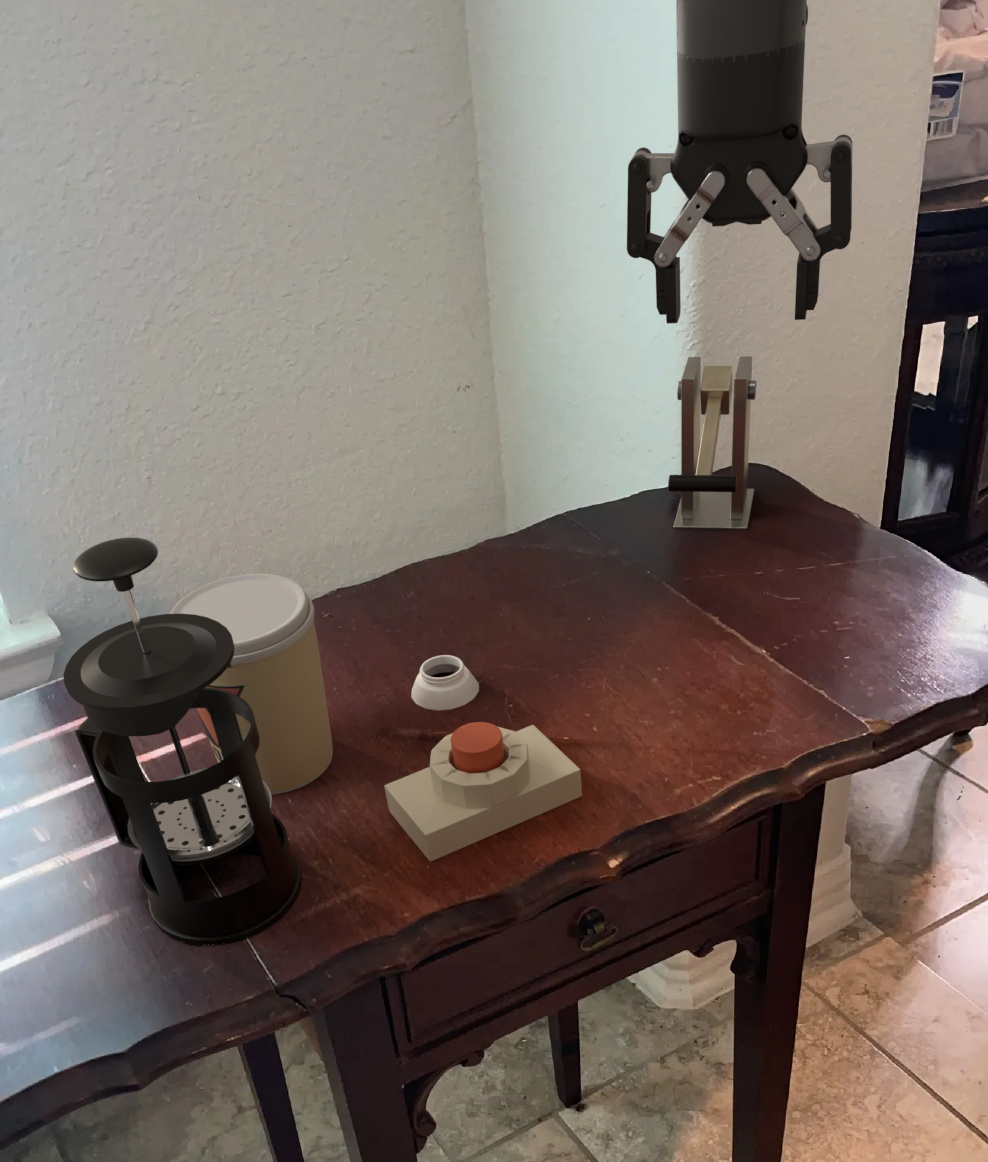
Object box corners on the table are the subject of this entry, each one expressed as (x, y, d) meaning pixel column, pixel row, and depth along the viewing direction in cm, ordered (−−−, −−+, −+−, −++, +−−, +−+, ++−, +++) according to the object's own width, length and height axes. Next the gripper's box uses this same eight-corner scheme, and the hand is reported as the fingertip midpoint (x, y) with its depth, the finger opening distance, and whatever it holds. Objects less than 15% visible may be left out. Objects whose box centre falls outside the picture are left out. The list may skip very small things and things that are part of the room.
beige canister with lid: (189, 756, 89) (140, 606, 81) (307, 705, 92) (271, 555, 84) (245, 822, 83) (198, 666, 75) (369, 765, 86) (337, 609, 78)
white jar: (465, 674, 93) (402, 695, 92) (461, 639, 91) (396, 660, 90) (492, 708, 89) (427, 730, 88) (488, 672, 87) (421, 694, 86)
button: (489, 738, 81) (486, 715, 79) (514, 762, 78) (511, 739, 77) (445, 756, 80) (441, 733, 79) (468, 781, 78) (465, 758, 76)
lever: (735, 501, 95) (735, 477, 93) (668, 500, 96) (667, 476, 94) (750, 390, 100) (750, 364, 98) (687, 390, 101) (686, 365, 99)
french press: (338, 859, 79) (254, 517, 63) (262, 963, 73) (149, 613, 57) (182, 825, 83) (67, 496, 68) (97, 921, 77) (-50, 584, 61)
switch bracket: (746, 541, 103) (752, 384, 95) (673, 539, 105) (672, 385, 96) (754, 501, 108) (760, 349, 100) (683, 500, 110) (683, 350, 101)
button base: (535, 750, 85) (530, 701, 83) (582, 796, 81) (579, 746, 78) (388, 811, 82) (378, 762, 79) (430, 862, 78) (421, 812, 75)
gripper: (611, 60, 74) (623, 341, 85) (863, 38, 71) (842, 335, 82) (631, 33, 80) (641, 302, 90) (867, 12, 76) (847, 294, 87)
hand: (736, 317), depth 86 cm, fingers open, 8 cm apart
